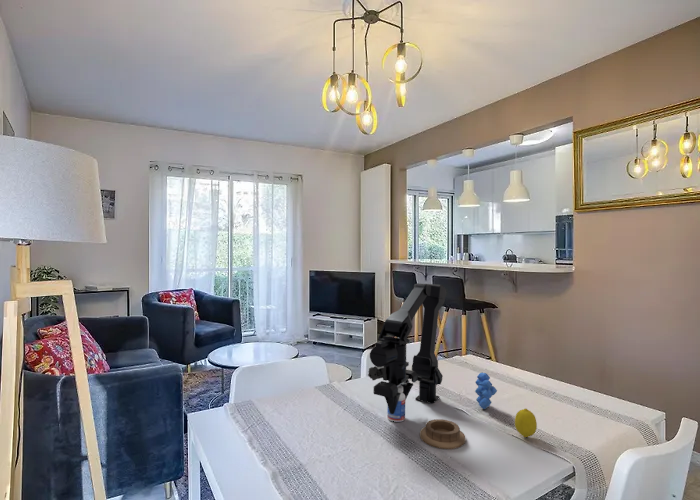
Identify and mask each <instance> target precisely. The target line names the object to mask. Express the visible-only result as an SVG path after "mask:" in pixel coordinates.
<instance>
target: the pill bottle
mask: <svg viewBox="0 0 700 500" xmlns="http://www.w3.org/2000/svg"><path fill="white" fill-rule="evenodd" d="M402 392H403V386H401V385H399V386H398V392H397V393H401V394H400V397H399V400H398V403H397V406H396V409H395V412H394V414H391V413H390V411H389V408H388V407H387V412H386V414H387V420H388V421H390V422H393V421H394V422H393V423H400V422H403V421H405V419H406V400H405V394H404V393H402Z"/></svg>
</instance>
